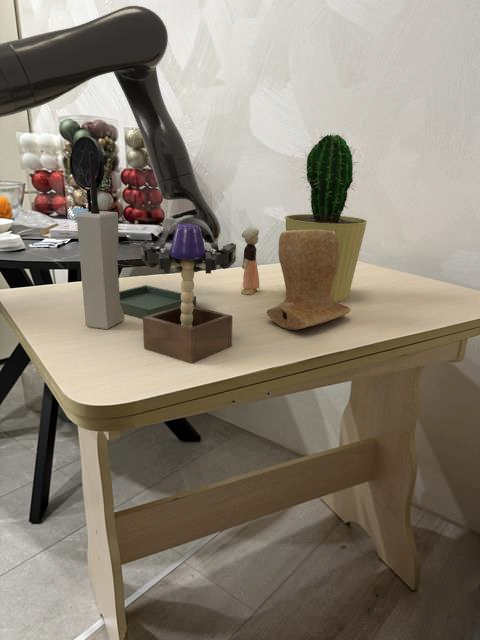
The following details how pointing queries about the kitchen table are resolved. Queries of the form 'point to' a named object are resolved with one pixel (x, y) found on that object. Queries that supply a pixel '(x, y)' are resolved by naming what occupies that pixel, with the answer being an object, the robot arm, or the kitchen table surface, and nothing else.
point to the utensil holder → (99, 262)
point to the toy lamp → (187, 264)
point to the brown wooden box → (187, 333)
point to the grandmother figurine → (250, 261)
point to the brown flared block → (308, 279)
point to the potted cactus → (332, 206)
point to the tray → (149, 300)
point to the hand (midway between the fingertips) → (187, 265)
